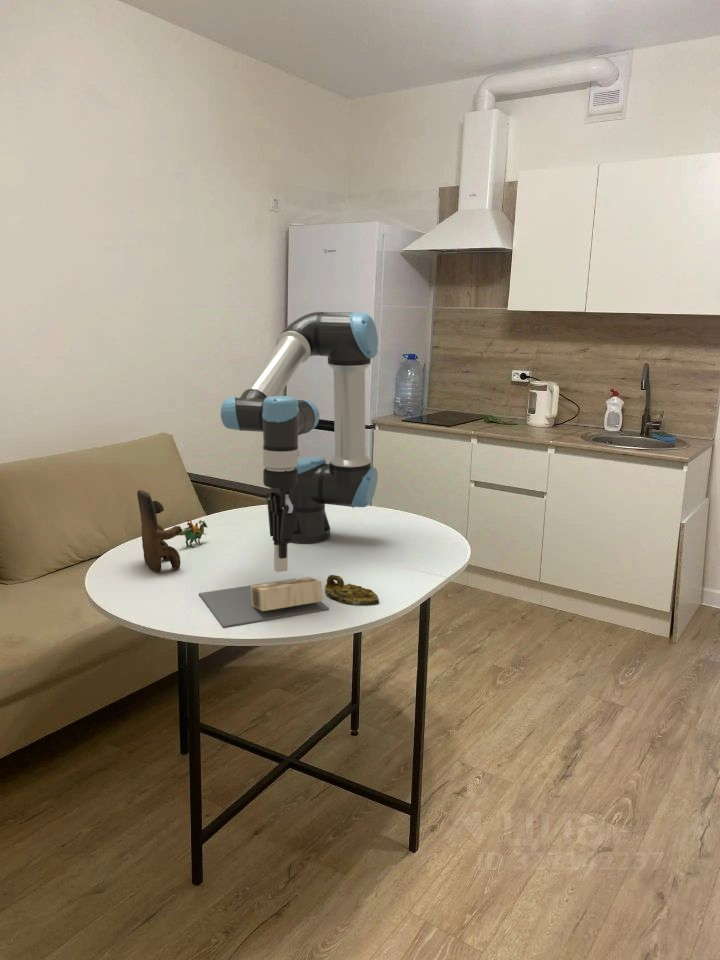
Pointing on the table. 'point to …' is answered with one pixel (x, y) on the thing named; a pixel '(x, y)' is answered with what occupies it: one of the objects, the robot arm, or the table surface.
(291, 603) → the beech block
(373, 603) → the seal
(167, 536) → the figurine
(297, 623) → the table surface
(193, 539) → the figurine
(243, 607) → the rubber mat
